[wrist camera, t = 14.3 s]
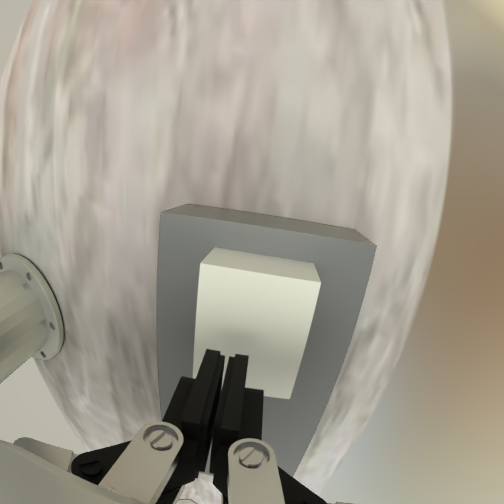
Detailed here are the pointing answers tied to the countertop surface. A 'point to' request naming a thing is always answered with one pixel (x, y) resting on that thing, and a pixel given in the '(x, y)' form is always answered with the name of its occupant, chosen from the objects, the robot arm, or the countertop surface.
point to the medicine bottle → (185, 502)
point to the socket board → (323, 323)
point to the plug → (256, 315)
